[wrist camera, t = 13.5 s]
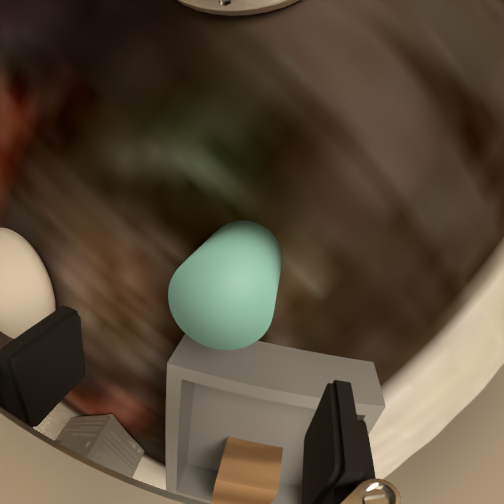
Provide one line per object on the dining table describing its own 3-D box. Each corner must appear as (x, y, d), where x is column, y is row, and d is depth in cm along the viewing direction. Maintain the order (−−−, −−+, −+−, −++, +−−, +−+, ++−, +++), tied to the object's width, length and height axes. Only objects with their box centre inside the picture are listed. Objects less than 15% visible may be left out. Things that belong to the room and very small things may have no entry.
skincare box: (113, 411, 28) (38, 523, 13) (151, 454, 30) (97, 563, 15) (68, 415, 30) (0, 503, 15) (103, 455, 32) (50, 543, 17)
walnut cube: (228, 436, 25) (216, 479, 21) (283, 447, 25) (278, 491, 20) (221, 464, 27) (210, 502, 22) (270, 474, 26) (264, 513, 22)
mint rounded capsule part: (213, 213, 21) (173, 241, 14) (289, 230, 20) (285, 267, 14) (202, 283, 22) (164, 334, 16) (272, 300, 22) (261, 360, 15)
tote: (191, 324, 23) (167, 362, 19) (373, 362, 22) (385, 406, 18) (180, 458, 29) (166, 492, 24) (307, 484, 28) (305, 520, 23)
